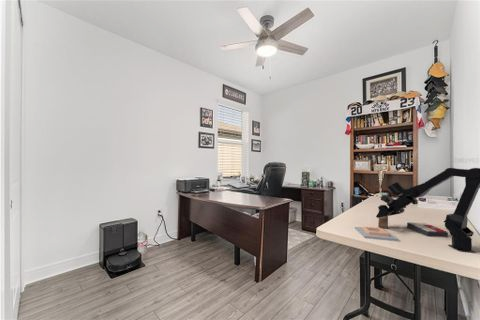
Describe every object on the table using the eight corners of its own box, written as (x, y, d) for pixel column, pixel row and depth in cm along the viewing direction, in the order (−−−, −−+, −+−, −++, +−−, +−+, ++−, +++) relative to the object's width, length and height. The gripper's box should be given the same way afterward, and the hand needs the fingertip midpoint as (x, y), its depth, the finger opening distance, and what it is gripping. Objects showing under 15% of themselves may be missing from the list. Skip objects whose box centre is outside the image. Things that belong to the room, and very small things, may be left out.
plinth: (399, 241, 101) (399, 236, 101) (364, 237, 105) (364, 233, 105) (384, 231, 117) (384, 226, 117) (354, 228, 121) (354, 224, 121)
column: (389, 229, 121) (389, 208, 121) (380, 228, 122) (380, 207, 122) (385, 226, 125) (385, 206, 126) (377, 226, 126) (377, 205, 127)
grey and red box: (428, 230, 110) (406, 221, 125) (427, 238, 110) (406, 228, 125) (448, 231, 109) (424, 222, 124) (448, 239, 109) (424, 228, 124)
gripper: (398, 190, 125) (379, 204, 134) (381, 191, 116) (362, 206, 126) (414, 205, 117) (392, 219, 127) (397, 208, 109) (375, 222, 119)
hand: (380, 216), depth 125 cm, fingers open, 9 cm apart
